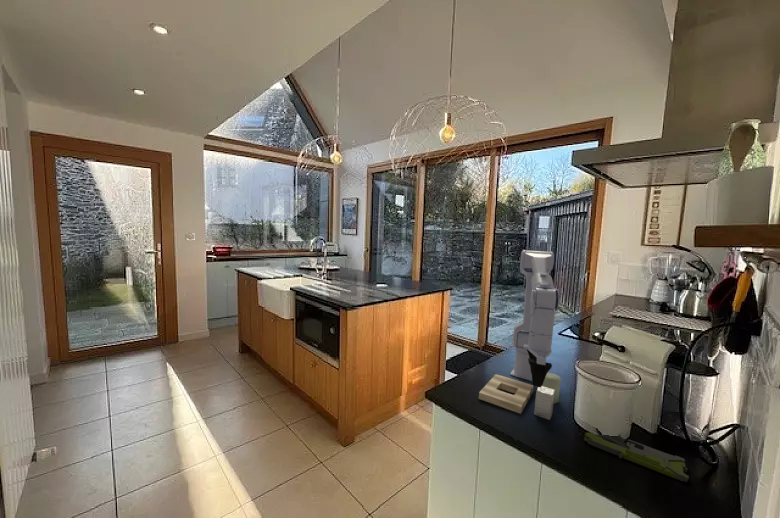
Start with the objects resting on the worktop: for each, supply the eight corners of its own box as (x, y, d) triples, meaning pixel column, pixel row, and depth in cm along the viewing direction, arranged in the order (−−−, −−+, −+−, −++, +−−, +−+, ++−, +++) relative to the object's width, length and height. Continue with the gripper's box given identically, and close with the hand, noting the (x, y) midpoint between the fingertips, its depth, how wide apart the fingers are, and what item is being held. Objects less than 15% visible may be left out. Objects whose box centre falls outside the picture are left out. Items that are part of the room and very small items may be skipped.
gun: (681, 450, 79) (688, 489, 67) (590, 418, 91) (582, 447, 79) (682, 441, 79) (690, 478, 67) (591, 410, 90) (584, 437, 78)
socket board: (495, 379, 110) (495, 374, 110) (533, 391, 104) (533, 385, 103) (478, 398, 97) (479, 392, 97) (520, 413, 90) (521, 406, 90)
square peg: (536, 408, 94) (539, 385, 93) (552, 413, 91) (554, 389, 91) (533, 414, 90) (536, 390, 90) (549, 420, 88) (552, 395, 87)
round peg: (539, 391, 104) (541, 370, 103) (559, 397, 101) (562, 375, 100) (535, 398, 99) (537, 376, 98) (556, 405, 96) (559, 382, 95)
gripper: (524, 323, 97) (519, 366, 99) (526, 337, 84) (521, 388, 85) (550, 326, 95) (545, 371, 96) (557, 342, 81) (551, 394, 83)
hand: (536, 379), depth 90 cm, fingers open, 7 cm apart
